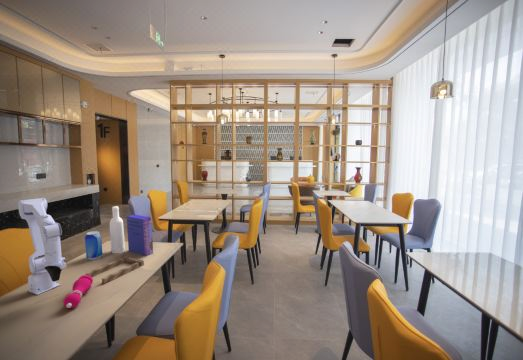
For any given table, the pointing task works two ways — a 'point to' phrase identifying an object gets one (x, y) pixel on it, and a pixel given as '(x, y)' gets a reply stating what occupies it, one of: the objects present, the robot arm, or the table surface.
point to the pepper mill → (78, 291)
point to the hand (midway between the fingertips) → (55, 280)
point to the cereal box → (140, 234)
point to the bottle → (117, 232)
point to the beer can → (93, 245)
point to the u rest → (133, 261)
